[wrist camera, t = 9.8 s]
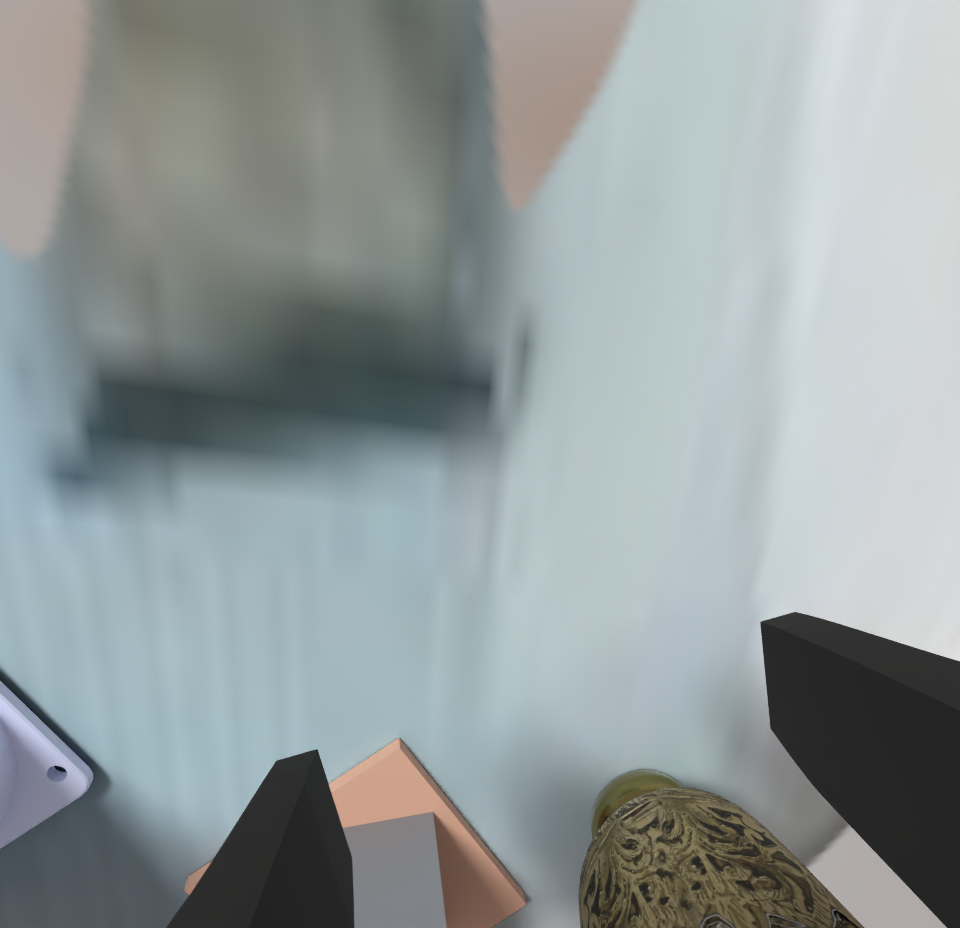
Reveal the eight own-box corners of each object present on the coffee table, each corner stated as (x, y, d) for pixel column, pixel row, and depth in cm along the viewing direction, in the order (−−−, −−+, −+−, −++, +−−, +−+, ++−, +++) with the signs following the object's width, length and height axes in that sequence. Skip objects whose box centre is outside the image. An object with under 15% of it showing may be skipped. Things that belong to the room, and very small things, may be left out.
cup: (582, 923, 23) (689, 1232, 15) (496, 782, 21) (567, 1053, 13) (756, 824, 23) (947, 1076, 15) (687, 675, 21) (867, 878, 13)
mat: (188, 876, 20) (183, 889, 19) (398, 737, 20) (400, 748, 19) (334, 1016, 22) (333, 1032, 21) (523, 891, 22) (526, 904, 21)
